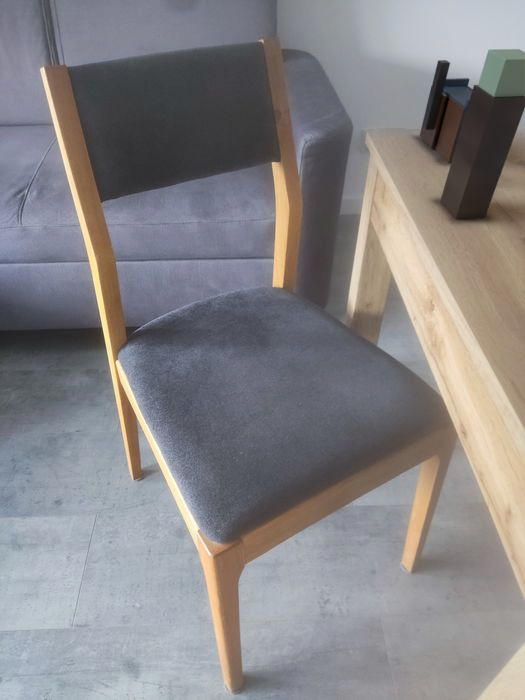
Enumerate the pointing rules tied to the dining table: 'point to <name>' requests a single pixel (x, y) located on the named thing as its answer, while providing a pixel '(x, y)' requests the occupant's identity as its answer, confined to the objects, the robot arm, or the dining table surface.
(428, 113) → the door
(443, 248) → the dining table surface
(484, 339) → the dining table surface
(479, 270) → the dining table surface
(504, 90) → the block
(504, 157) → the plinth
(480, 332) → the dining table surface
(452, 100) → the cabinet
